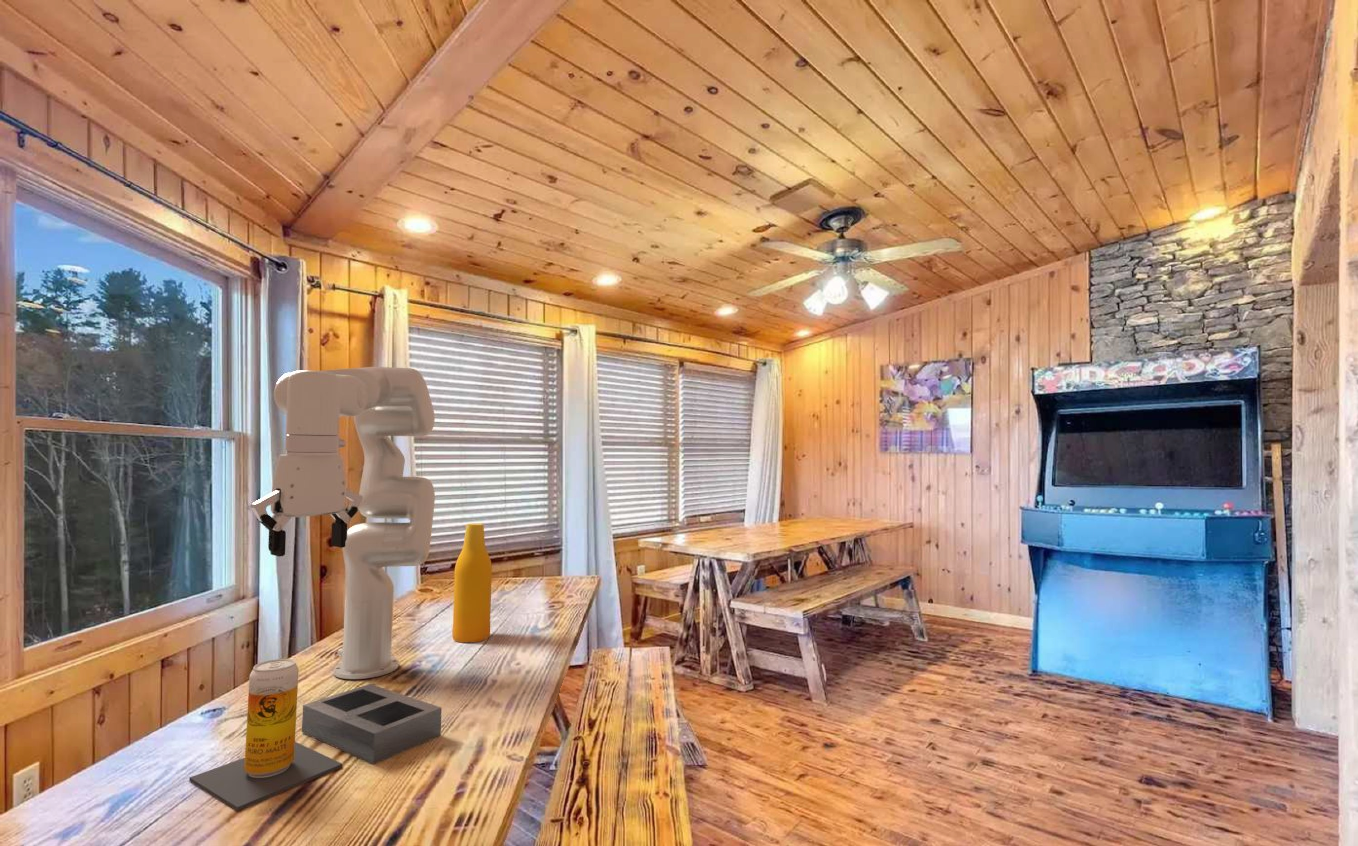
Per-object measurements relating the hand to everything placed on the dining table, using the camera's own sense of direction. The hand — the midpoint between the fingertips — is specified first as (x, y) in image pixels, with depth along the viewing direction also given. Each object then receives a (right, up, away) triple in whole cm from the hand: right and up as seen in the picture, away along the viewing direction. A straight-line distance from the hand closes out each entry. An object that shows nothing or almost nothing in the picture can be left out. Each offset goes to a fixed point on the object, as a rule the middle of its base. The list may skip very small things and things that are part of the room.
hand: (309, 550), depth 103 cm
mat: (+1, -30, -12) cm, 32 cm away
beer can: (+1, -30, -11) cm, 32 cm away
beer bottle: (+7, -34, +58) cm, 68 cm away
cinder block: (+9, -31, +2) cm, 32 cm away
